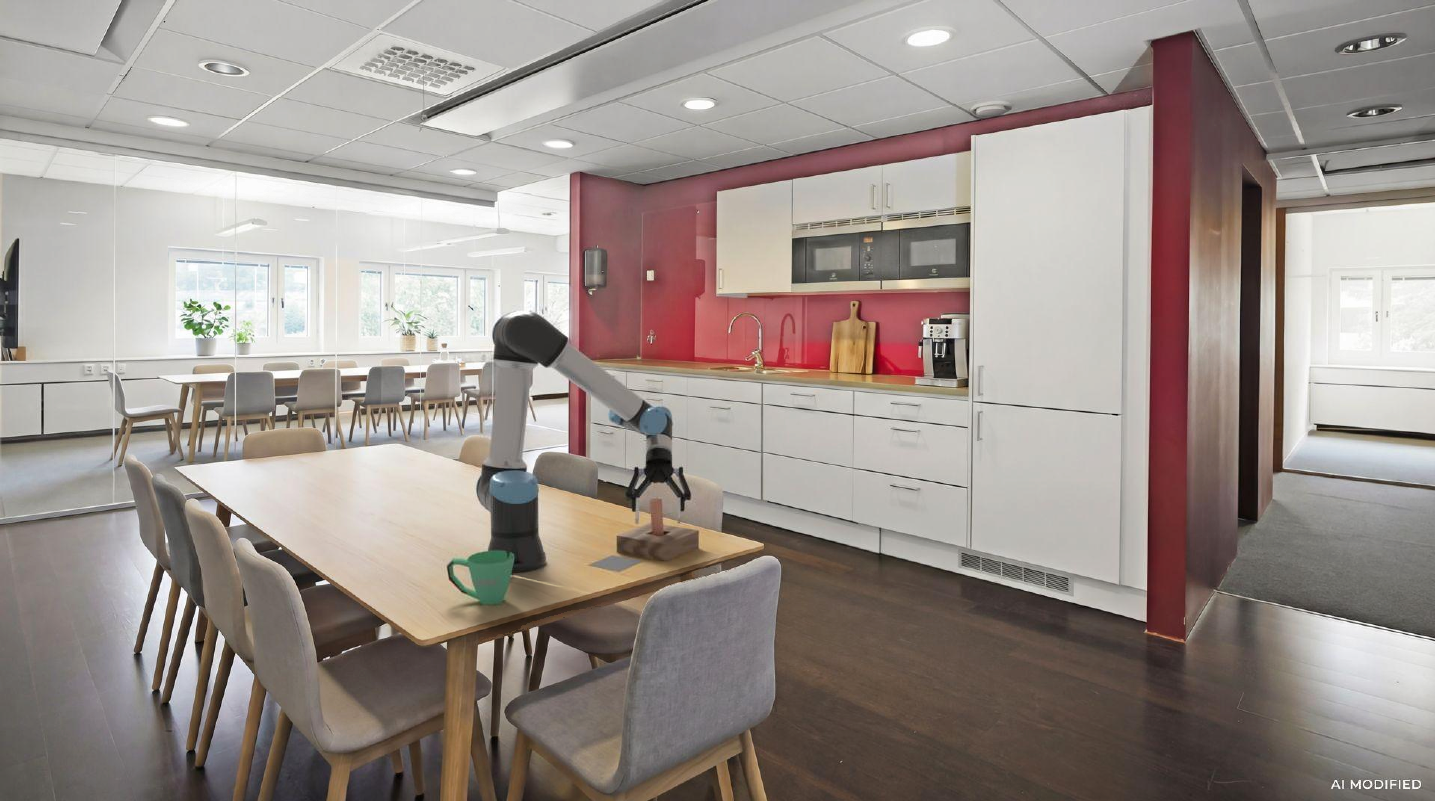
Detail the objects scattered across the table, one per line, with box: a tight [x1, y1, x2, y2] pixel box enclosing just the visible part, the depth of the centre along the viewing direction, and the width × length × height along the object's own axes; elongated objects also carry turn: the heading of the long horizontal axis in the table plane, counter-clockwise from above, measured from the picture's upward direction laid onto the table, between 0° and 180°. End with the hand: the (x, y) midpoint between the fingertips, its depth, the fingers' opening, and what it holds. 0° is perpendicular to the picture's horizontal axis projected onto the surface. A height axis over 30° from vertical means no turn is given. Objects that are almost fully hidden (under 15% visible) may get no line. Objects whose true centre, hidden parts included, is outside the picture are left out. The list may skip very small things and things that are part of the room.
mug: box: [446, 550, 514, 606], centre depth 163 cm, size 15×10×10 cm
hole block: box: [616, 522, 700, 562], centre depth 202 cm, size 16×16×5 cm
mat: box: [588, 554, 644, 572], centre depth 190 cm, size 10×10×1 cm
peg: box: [649, 498, 664, 536], centre depth 202 cm, size 3×3×14 cm
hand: (658, 521), depth 199 cm, fingers open, 10 cm apart
